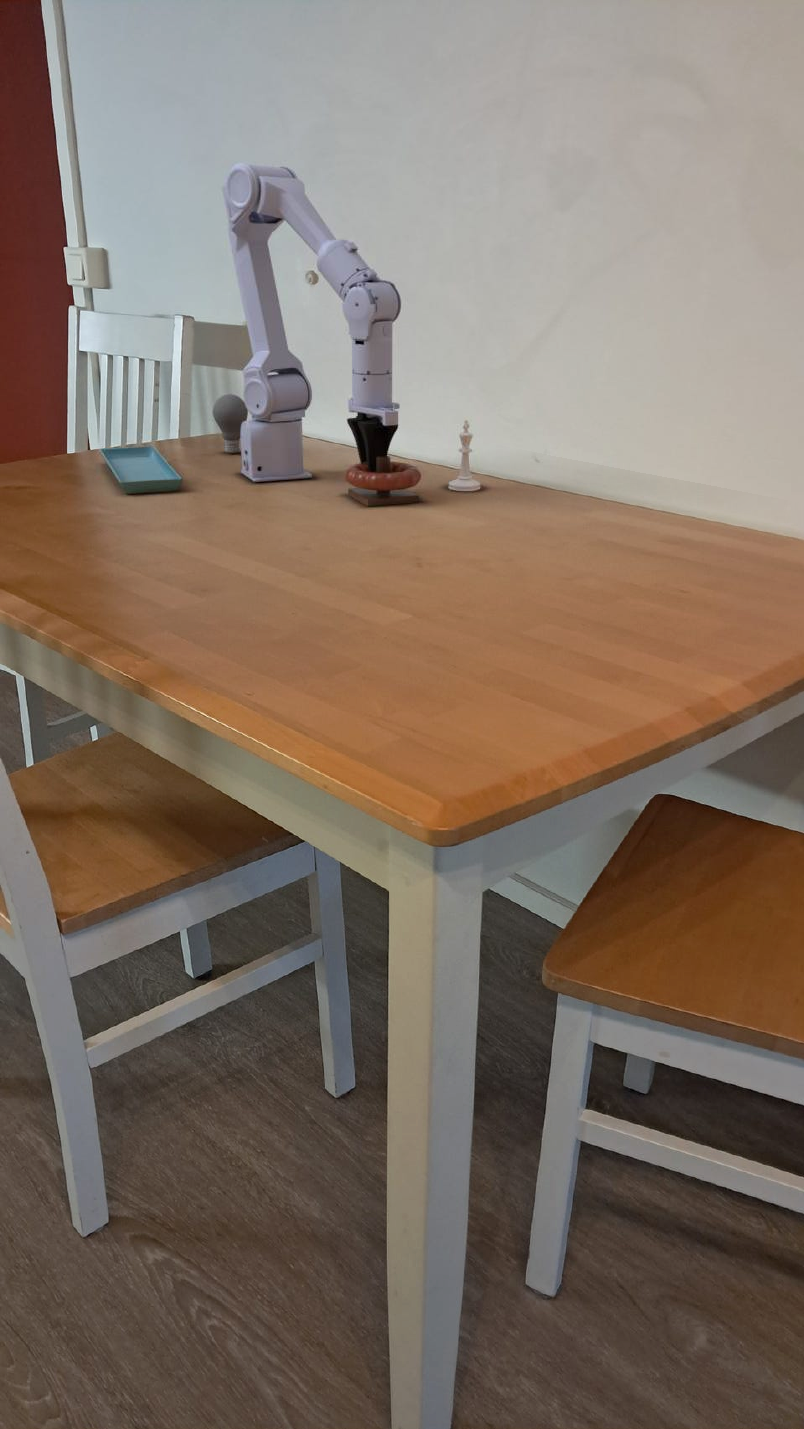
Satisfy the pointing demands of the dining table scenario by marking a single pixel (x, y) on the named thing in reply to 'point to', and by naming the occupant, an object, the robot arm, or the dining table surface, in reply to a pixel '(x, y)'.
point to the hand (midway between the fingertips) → (372, 468)
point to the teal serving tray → (141, 469)
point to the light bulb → (230, 420)
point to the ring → (383, 477)
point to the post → (379, 495)
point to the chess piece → (465, 465)
